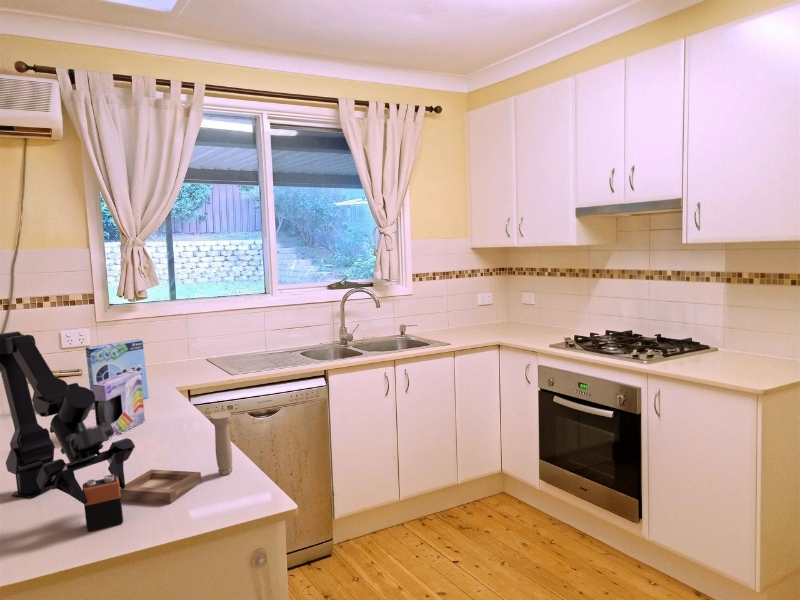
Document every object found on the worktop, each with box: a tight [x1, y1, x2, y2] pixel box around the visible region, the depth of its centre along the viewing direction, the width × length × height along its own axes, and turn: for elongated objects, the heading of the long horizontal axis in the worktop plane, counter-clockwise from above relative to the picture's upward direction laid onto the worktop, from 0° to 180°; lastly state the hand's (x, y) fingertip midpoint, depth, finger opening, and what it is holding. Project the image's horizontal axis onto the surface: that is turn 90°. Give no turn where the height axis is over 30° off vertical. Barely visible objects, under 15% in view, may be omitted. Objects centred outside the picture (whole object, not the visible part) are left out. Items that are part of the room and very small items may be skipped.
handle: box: [210, 410, 233, 476], centre depth 150 cm, size 5×6×15 cm
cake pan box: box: [92, 371, 146, 440], centre depth 191 cm, size 19×5×18 cm, turn 168°
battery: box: [81, 474, 124, 532], centre depth 125 cm, size 4×7×10 cm, turn 119°
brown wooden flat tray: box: [120, 469, 202, 504], centre depth 142 cm, size 14×12×2 cm
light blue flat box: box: [85, 339, 150, 409], centre depth 227 cm, size 20×5×23 cm, turn 134°
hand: (105, 495), depth 124 cm, fingers closed on battery, 8 cm apart
